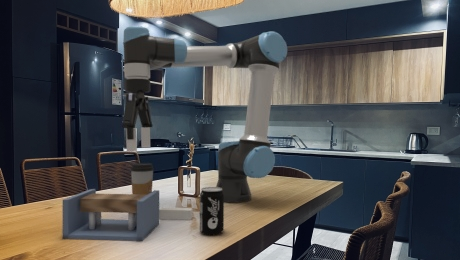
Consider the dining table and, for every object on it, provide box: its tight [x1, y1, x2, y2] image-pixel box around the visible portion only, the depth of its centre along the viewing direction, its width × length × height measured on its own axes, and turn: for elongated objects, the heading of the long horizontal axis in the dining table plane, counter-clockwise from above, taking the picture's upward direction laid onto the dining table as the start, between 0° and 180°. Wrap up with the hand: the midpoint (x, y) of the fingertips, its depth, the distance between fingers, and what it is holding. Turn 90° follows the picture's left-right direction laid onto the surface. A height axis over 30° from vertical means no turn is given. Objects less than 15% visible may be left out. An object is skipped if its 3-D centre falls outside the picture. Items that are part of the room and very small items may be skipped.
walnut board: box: [80, 193, 146, 214], centre depth 93 cm, size 16×7×4 cm, turn 86°
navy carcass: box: [61, 188, 160, 242], centre depth 93 cm, size 21×15×10 cm
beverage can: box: [199, 186, 225, 236], centre depth 92 cm, size 7×7×12 cm
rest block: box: [159, 207, 193, 221], centre depth 106 cm, size 10×3×3 cm, turn 86°
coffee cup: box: [130, 162, 154, 195], centre depth 125 cm, size 8×8×15 cm
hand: (139, 149), depth 102 cm, fingers open, 13 cm apart
